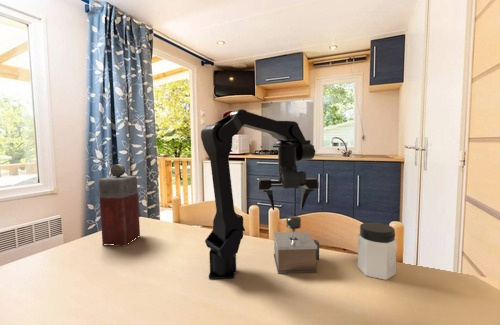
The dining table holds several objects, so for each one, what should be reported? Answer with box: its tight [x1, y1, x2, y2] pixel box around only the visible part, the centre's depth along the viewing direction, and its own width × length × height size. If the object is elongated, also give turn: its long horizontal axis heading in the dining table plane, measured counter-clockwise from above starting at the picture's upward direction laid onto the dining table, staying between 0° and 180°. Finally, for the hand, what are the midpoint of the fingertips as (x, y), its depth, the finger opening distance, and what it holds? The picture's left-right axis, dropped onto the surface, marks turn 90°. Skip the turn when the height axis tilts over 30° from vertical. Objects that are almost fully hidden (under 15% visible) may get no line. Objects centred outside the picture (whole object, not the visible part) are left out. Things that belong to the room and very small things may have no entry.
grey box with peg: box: [273, 231, 320, 274], centre depth 70 cm, size 12×10×7 cm
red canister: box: [98, 163, 141, 246], centre depth 89 cm, size 9×11×28 cm
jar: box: [357, 221, 397, 281], centre depth 64 cm, size 9×8×12 cm
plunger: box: [285, 215, 302, 240], centre depth 69 cm, size 8×8×11 cm
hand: (287, 209), depth 79 cm, fingers open, 9 cm apart
